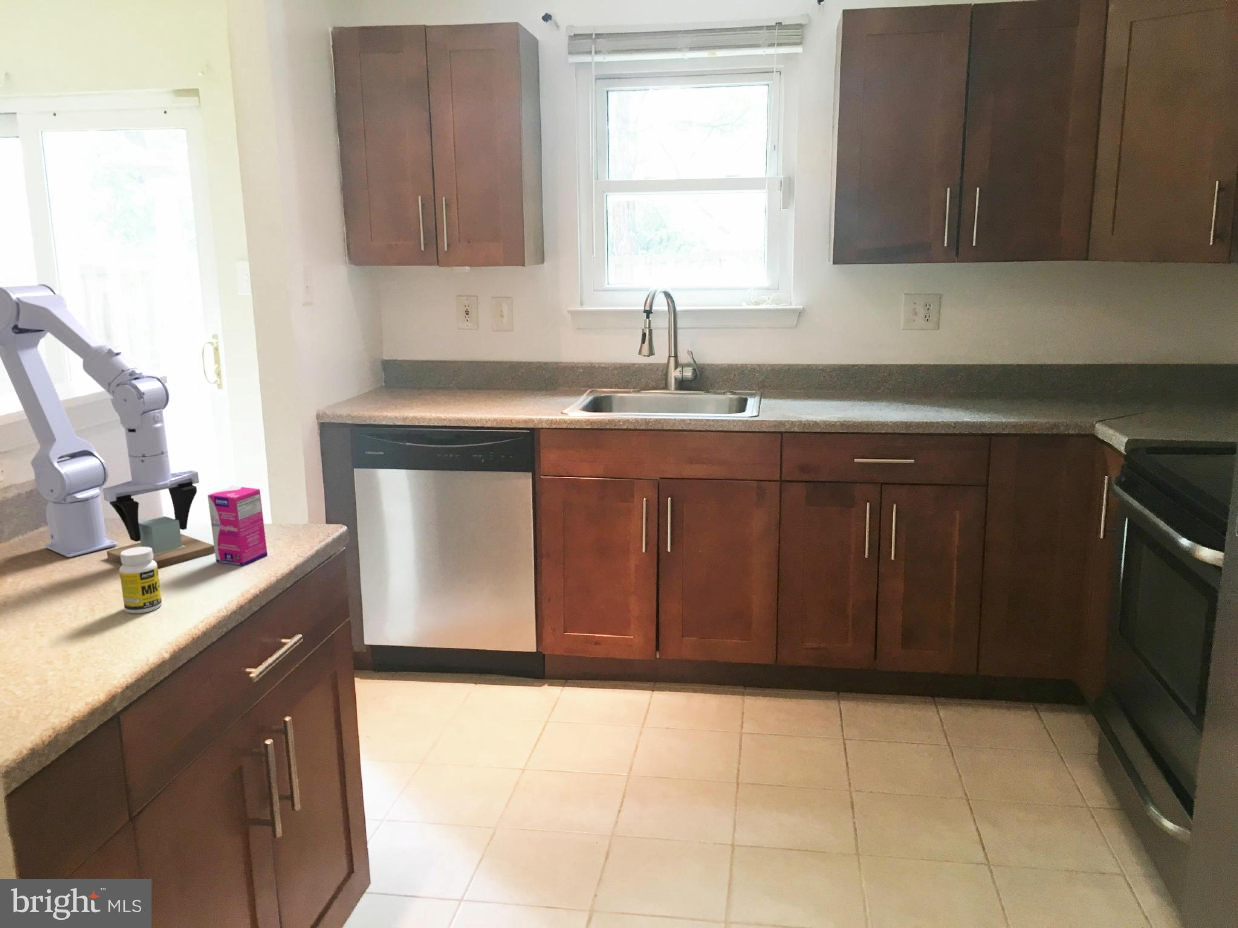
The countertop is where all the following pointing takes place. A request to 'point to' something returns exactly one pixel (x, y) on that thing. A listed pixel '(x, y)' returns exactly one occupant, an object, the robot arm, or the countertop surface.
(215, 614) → the countertop surface
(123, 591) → the supplement bottle
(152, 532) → the teal cube
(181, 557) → the plate
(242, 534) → the supplement box
